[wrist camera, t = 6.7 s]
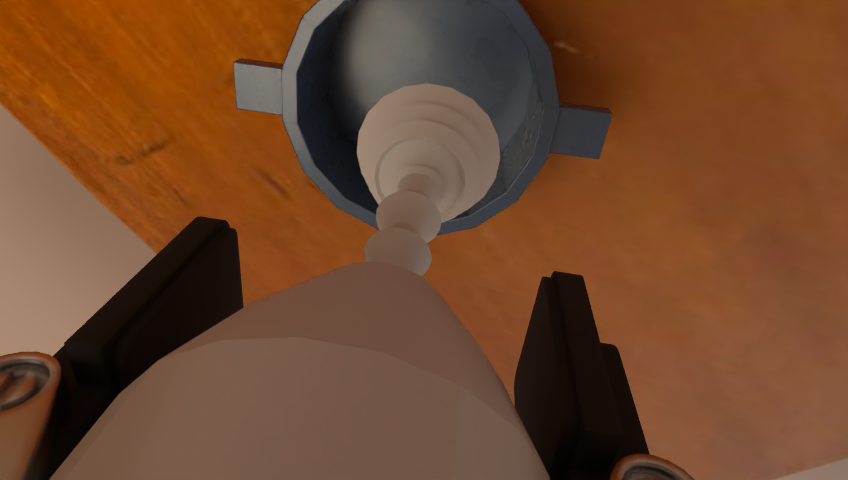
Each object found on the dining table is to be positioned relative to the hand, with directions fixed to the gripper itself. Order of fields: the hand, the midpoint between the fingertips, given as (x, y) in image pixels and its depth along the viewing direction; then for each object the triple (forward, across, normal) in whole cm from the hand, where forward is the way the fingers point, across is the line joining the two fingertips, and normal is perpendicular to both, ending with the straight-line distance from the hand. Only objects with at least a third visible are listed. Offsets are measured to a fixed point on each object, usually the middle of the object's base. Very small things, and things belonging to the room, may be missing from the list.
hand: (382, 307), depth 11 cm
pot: (+23, +1, +1) cm, 23 cm away
